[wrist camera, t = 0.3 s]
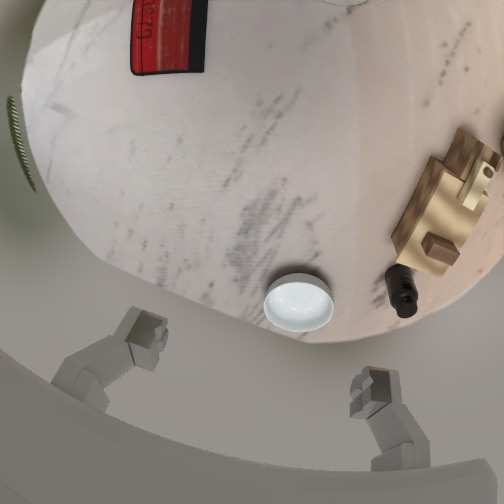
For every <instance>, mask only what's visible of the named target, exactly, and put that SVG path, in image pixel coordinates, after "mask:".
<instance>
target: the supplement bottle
mask: <svg viewBox="0 0 504 504" xmlns="http://www.w3.org/2000/svg"><path fill="white" fill-rule="evenodd" d="M385 281H386V286H387V290H388V295H389V299H390V303H391V305H392V307H393V308H395V309H396V311H397V315H398V316H399V317H400V318H409V317H411V316H413V315H414V314H415V313H416V312H417V300H418V292H417V289H416V286H415V283H414V280H413V277H412V274H411V271H410V269H409V268H408V267H407V266H405V265H395V266H393V267H391V268H390V269H389V270H388V271H387V272H386V275H385Z"/></svg>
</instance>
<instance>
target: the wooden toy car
mask: <svg viewBox="0 0 504 504" xmlns="http://www.w3.org/2000/svg"><path fill="white" fill-rule="evenodd" d="M493 171H494V168H493V167H492V166H491V165H489V164H488V163H486V162H485V161H483V160H481V161H480V160H478V159H477V158H476V161H475V163H474V165H473V167H472V170H471V172H470V174H469V176H468V178H467V180H466V182H465V184H464V186H463V188H462V190H461V192H460V194H459V196H458V198H457V199H458V201H459V202H460V203H461V204H462V205H463V206H465V207H467V208H469V209H471V210H472V211H473V210H474V209H475V207H476V205H477V203H478V201H479V199H480V197H481V195H482V194H483V192H484V190H485V188H486V186H487V184H488V182H489V179H490V178H491V177H492V176H493Z"/></svg>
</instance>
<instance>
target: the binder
mask: <svg viewBox="0 0 504 504" xmlns="http://www.w3.org/2000/svg"><path fill="white" fill-rule="evenodd" d="M207 10H208V0H134V1H133V9H132V19H131V37H130V69H131V72H132V73H133V74H134V75H136V76H145V75H157V74H172V73H202V72H204V60H205V39H206V26H207Z"/></svg>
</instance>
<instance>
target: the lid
mask: <svg viewBox="0 0 504 504" xmlns="http://www.w3.org/2000/svg"><path fill="white" fill-rule="evenodd" d="M464 184H465V182H464V181H462V180H460V179H459V178H457V177H455V176H453V175H452V174H450V173H448V172H446V171H444V170H442V172H441V174H440V176H439V178H438V180H437V182H436V184H435V186H434V188H433V190H432V193H431V195H430V196H429V198H428V200H427V202H426V204H425V206H424V208H423V210H422V212H421V214H420V216H419V217H418V219H417V221H416V223H415V225H414V227H413V228H412V230H411V232H410V234H409V235H408V237H407V239H406V241H405V242H404V244H403V246H402V247H401V249H400V251H399V252H398V254H397V256H396V257H395V262H397V263H399V264H402V265H405V266H408V267H411V268H414V269H417V270H420V271H423V272H425V273H428V274H431V275H434V276H437V277H439V278H441V277H442V276H443V274H444V273H445V271H446V270H447V268H448V267H449V266H450V265H451V266H453V264H454V263H455V261H456V260H457V258H458V257H459V255H460V253H459V251H460V249H461V248H462V246H463V244H464V243H465V241H466V240H467V238H468V236H469V235H470V233H471V231H472V230H473V228H474V226H475V225H476V223H477V221H478V220H479V218H480V216H481V214H482V212H483V211H484V209H485V207H486V205H487V203H488V201H489V200H490V198H489V197H488V196H487V195H485V194H484V193H483V194H482V195H481V197H480V199H479V201H478V203H477V205H476V207H475V209H474V210H473V211H472V210H471V209H469V208H467V207H465V206H463V205H462V204H461V203H460V202H459V201H458V199H457V198H458V196H459V194H460V192H461V190H462V188H463V186H464Z"/></svg>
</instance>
